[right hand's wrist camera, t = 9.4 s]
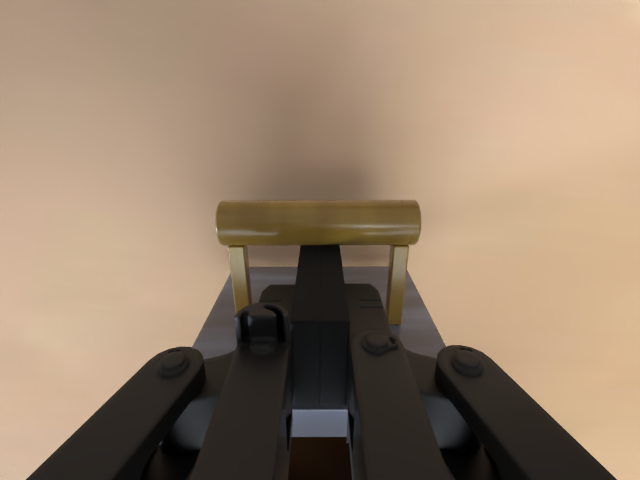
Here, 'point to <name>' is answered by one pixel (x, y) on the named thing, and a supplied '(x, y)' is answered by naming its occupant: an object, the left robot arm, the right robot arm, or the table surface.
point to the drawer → (248, 282)
